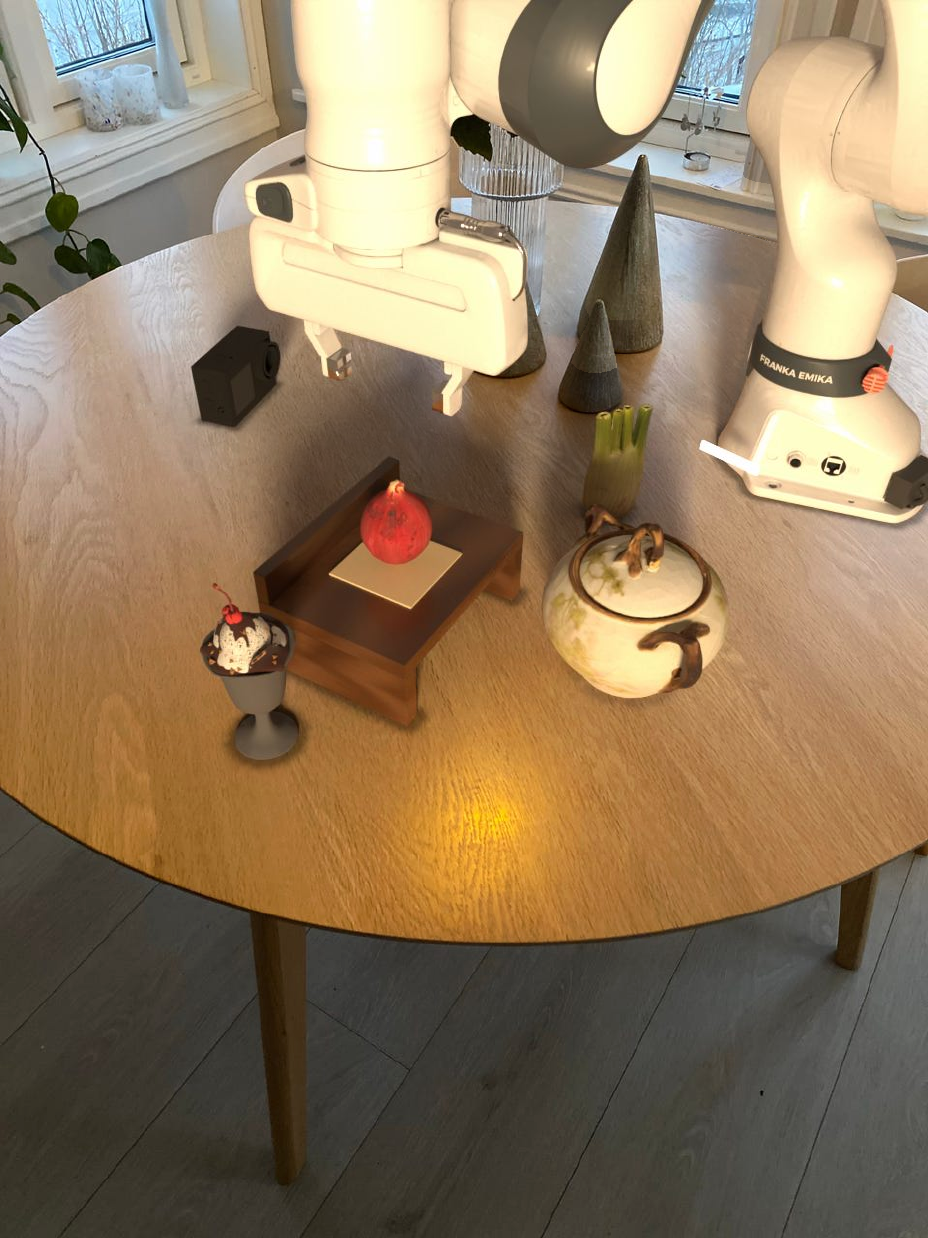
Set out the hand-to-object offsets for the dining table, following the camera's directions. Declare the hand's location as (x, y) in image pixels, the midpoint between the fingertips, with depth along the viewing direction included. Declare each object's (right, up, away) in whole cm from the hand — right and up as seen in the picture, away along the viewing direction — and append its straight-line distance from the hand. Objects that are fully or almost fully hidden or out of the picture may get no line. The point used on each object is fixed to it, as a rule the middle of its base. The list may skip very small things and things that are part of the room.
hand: (391, 392), depth 69 cm
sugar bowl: (+19, -20, +12) cm, 31 cm away
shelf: (0, -17, +15) cm, 23 cm away
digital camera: (-20, +9, +42) cm, 48 cm away
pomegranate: (0, -12, +11) cm, 16 cm away
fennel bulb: (+20, -6, +28) cm, 35 cm away
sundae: (-10, -26, +6) cm, 28 cm away
